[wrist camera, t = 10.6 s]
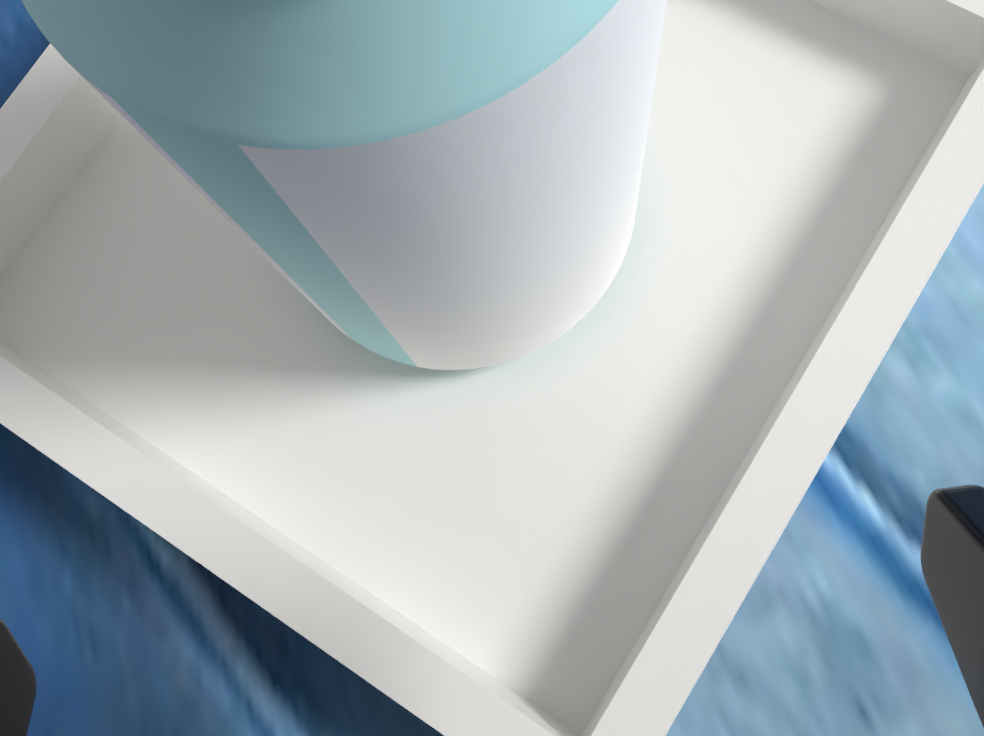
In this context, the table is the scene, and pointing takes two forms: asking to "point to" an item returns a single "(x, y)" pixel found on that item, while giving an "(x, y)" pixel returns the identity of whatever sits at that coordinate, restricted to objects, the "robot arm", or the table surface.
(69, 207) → the tray
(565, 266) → the can
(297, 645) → the table surface
